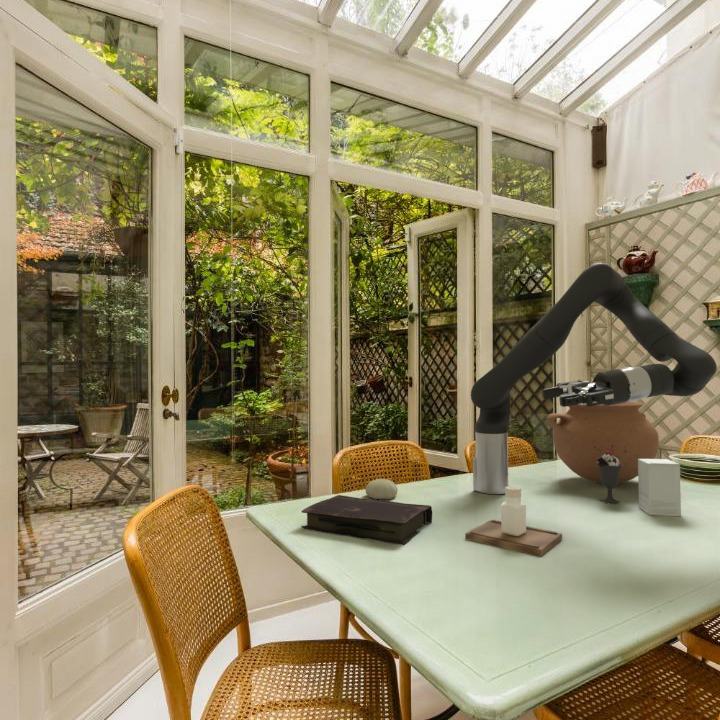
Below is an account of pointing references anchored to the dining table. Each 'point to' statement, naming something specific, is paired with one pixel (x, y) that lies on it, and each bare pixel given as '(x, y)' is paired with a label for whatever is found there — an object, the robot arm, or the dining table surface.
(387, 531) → the diary
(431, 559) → the dining table surface
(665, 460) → the supplement box
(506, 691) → the dining table surface
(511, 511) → the salt shaker
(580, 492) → the dining table surface
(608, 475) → the sundae
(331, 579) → the dining table surface
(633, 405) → the clay pot
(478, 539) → the walnut board
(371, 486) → the sea urchin shell
